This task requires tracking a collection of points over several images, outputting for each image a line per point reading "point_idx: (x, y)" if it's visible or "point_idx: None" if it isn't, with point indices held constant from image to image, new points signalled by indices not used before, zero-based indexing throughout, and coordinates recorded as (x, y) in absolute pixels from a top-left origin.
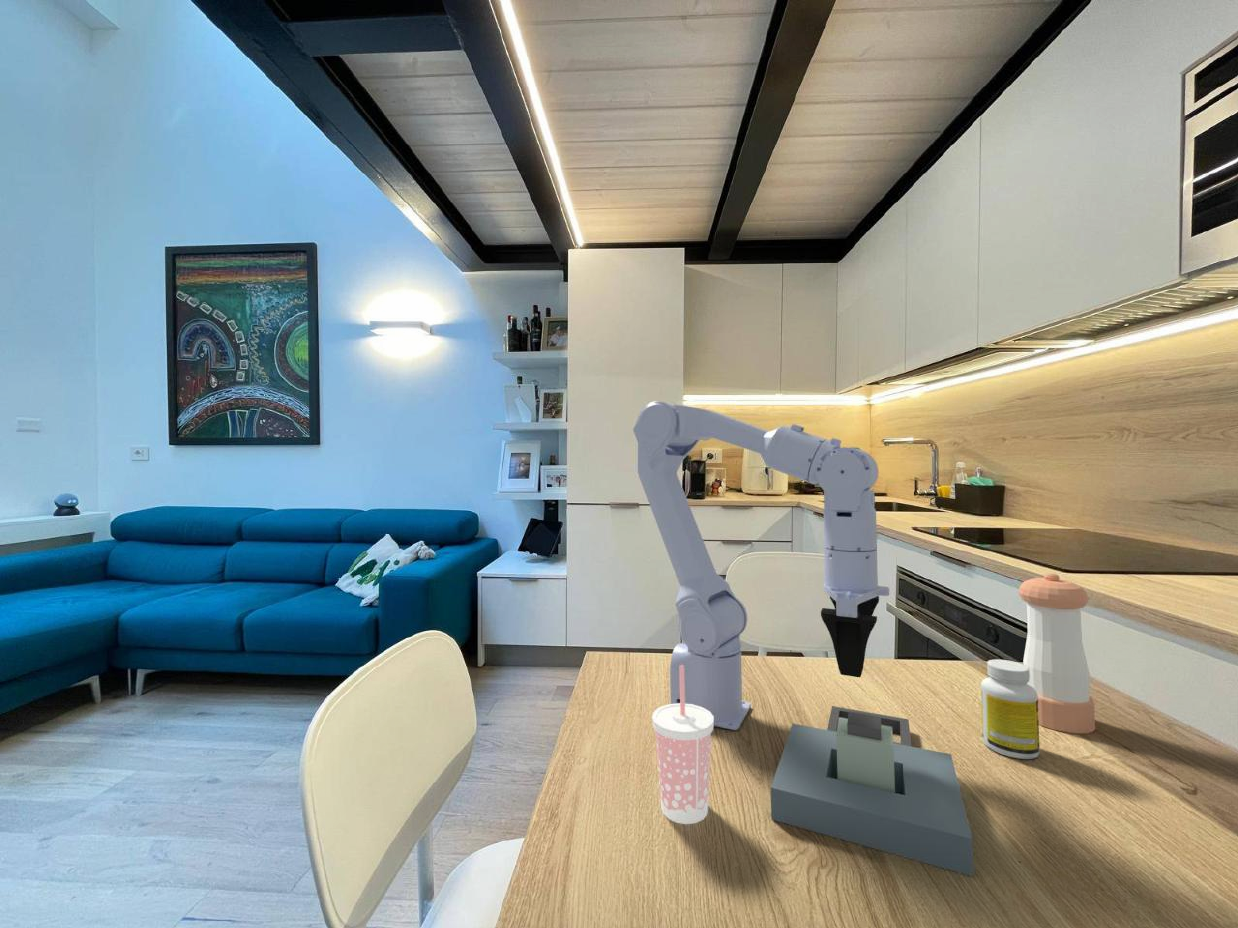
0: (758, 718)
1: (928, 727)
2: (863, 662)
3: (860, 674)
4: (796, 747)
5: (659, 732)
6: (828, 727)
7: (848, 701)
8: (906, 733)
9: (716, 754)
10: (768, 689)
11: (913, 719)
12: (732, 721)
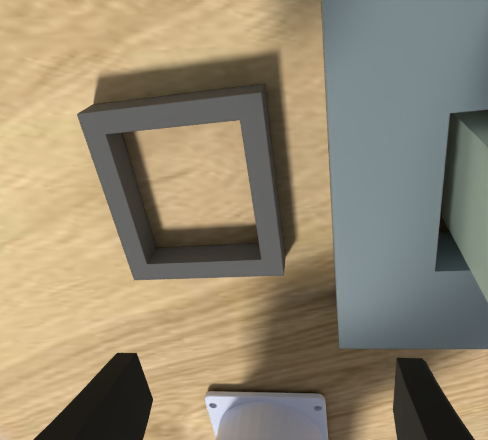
0: (244, 371)
1: (30, 58)
2: (455, 412)
3: (428, 368)
4: (460, 330)
5: None
6: (253, 274)
7: (35, 243)
8: (170, 112)
9: None
10: None
11: (12, 98)
12: (303, 407)
